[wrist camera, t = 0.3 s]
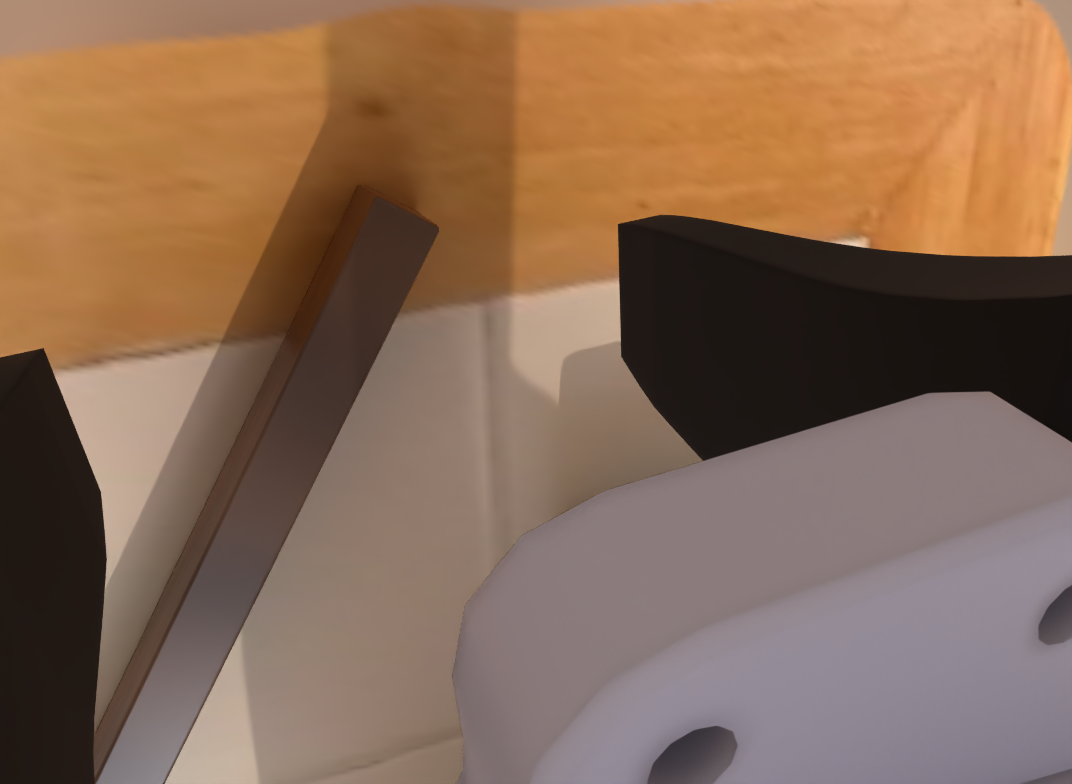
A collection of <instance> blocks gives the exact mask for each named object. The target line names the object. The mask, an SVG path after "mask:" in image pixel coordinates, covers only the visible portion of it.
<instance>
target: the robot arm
mask: <svg viewBox="0 0 1072 784" xmlns="http://www.w3.org/2000/svg"><path fill="white" fill-rule="evenodd" d="M618 242H619V282H620V321H621V357H622V358H623V360H624V362H625V363H626V365H627V366H628V368H629V370H630V371H631V373H632V374H633V376H634V378H635V379H636V381H637V382H638V384H639V386H640V387H641V388H642V390H643V391H644V393H645V394H646V396H647V397H648V399H649V400H650V402H651V403H652V404H653V406H654V407H655V408H656V409H657V411H658V412H659V413H660V414H661V415H662V416H663V417H664V419H665V420H666V421H667V422H668V423H669V424H670V425H671V426H672V427H673V428H674V430H675V431H676V432H677V433H678V434H679V435H680V436H681V437H682V438H683V439H684V441H685V442H686V443H687V444H688V445H689V446H690V447H691V448H692V449H693V450H694V451H695V452H696V453H697V454H698V456H699V457H700V458H701V459H702V460H703V461H702V462H698V463H695V464H692V465H688V466H685V467H682V468H678V469H675V470H672V471H669V472H665V473H662V474H659V475H655V476H652V477H649V478H645V479H642V480H639V481H635V482H632V483H629V484H625V485H622V486H619V487H615V488H612V489H609V490H606V491H603V492H601V493H600V494H598V495H596V496H594V497H592V498H590V499H588V500H587V501H585V502H583V503H581V504H579V505H577V506H575V507H574V508H572V509H570V510H568V511H566V512H564V513H562V514H561V515H559V516H557V517H555V518H553V519H551V520H550V521H548V522H546V523H544V524H542V525H540V526H538V527H537V528H535V529H533V530H531V531H529V532H527V533H525V534H524V535H522V536H521V537H520V538H519V539H518V540H517V542H516V543H515V544H514V545H513V547H512V548H511V549H510V550H509V552H508V553H507V554H506V555H505V556H504V558H503V559H502V560H501V561H500V563H499V564H498V565H497V566H496V568H495V569H494V570H493V571H492V573H491V574H490V575H489V576H488V577H487V579H486V580H485V581H484V582H483V584H482V585H481V586H480V587H479V589H478V590H477V591H476V592H475V593H474V595H473V596H472V597H471V598H470V600H469V601H468V602H467V603H466V605H465V606H464V612H463V618H462V623H461V629H460V634H459V640H458V646H457V651H456V657H455V663H454V668H453V674H452V678H453V684H454V690H455V696H456V701H457V707H458V713H459V719H460V725H461V731H462V737H463V770H462V772H461V775H460V777H459V779H458V781H457V782H456V783H455V784H1072V255H1070V256H1040V257H984V256H951V255H935V254H922V253H910V252H897V251H887V250H878V249H870V248H862V247H856V246H849V245H842V244H836V243H829V242H823V241H817V240H811V239H806V238H800V237H795V236H789V235H784V234H779V233H774V232H769V231H763V230H758V229H753V228H748V227H743V226H738V225H733V224H728V223H723V222H717V221H712V220H706V219H700V218H693V217H685V216H675V215H658V216H653V217H648V218H644V219H639V220H635V221H630V222H625V223H621V224H618ZM106 561H107V558H106V544H105V530H104V520H103V510H102V499H101V491H100V489H99V486H98V484H97V481H96V479H95V476H94V474H93V471H92V469H91V466H90V464H89V461H88V459H87V456H86V454H85V451H84V449H83V446H82V444H81V441H80V439H79V436H78V434H77V431H76V429H75V426H74V424H73V421H72V419H71V416H70V414H69V411H68V409H67V406H66V404H65V401H64V399H63V396H62V394H61V391H60V389H59V386H58V384H57V381H56V379H55V376H54V374H53V371H52V369H51V366H50V363H49V361H48V358H47V356H46V353H45V351H44V348H43V349H38V350H33V351H29V352H24V353H20V354H15V355H10V356H6V357H1V358H0V784H95V778H94V756H93V746H94V714H95V702H96V690H97V678H98V666H99V654H100V642H101V630H102V618H103V604H104V591H105V578H106Z"/></svg>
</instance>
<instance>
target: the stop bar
mask: <svg viewBox="0 0 1072 784" xmlns="http://www.w3.org/2000/svg"><path fill="white" fill-rule="evenodd" d="M438 232H439V227H438V226H437V225H436V224H434V223H433V222H431V221H430V220H428V219H427V218H425V217H424V216H422V215H421V214H419V213H418V212H416V211H414V210H412V209H410V208H408V207H406V206H404V205H403V204H401V203H399V202H397V201H395V200H393V199H391V198H389V197H387V196H385V195H383V194H381V193H379V192H377V191H375V190H373V189H371V188H369V187H367V186H365V185H362V184H360V185H359V186H358V187H357V189H356V191H355V193H354V195H353V197H352V199H351V201H350V204H349V206H348V208H347V210H346V212H345V214H344V216H343V218H342V220H341V222H340V224H339V227H338V229H337V231H336V233H335V235H334V237H333V239H332V241H331V243H330V245H329V247H328V249H327V252H326V254H325V256H324V258H323V260H322V262H321V264H320V266H319V268H318V270H317V272H316V275H315V277H314V279H313V281H312V283H311V285H310V287H309V289H308V291H307V293H306V295H305V298H304V300H303V302H302V304H301V306H300V308H299V310H298V312H297V314H296V316H295V318H294V320H293V323H292V325H291V327H290V329H289V331H288V333H287V335H286V337H285V339H284V341H283V343H282V346H281V348H280V350H279V352H278V354H277V356H276V358H275V360H274V362H273V364H272V366H271V369H270V371H269V373H268V375H267V377H266V379H265V381H264V383H263V385H262V387H261V389H260V391H259V394H258V396H257V398H256V400H255V402H254V404H253V406H252V408H251V410H250V412H249V414H248V417H247V419H246V421H245V423H244V425H243V427H242V429H241V431H240V433H239V435H238V437H237V440H236V442H235V444H234V446H233V448H232V450H231V452H230V454H229V456H228V458H227V460H226V462H225V465H224V467H223V469H222V471H221V473H220V475H219V477H218V479H217V481H216V483H215V485H214V488H213V490H212V492H211V494H210V496H209V498H208V500H207V502H206V504H205V506H204V508H203V510H202V513H201V515H200V517H199V519H198V521H197V523H196V525H195V527H194V529H193V531H192V533H191V536H190V538H189V540H188V542H187V544H186V546H185V548H184V550H183V552H182V554H181V556H180V559H179V561H178V563H177V565H176V567H175V569H174V571H173V573H172V575H171V577H170V579H169V581H168V584H167V586H166V588H165V590H164V592H163V594H162V596H161V598H160V600H159V602H158V604H157V607H156V609H155V611H154V613H153V615H152V617H151V619H150V621H149V623H148V625H147V627H146V630H145V632H144V634H143V636H142V638H141V640H140V642H139V644H138V646H137V648H136V650H135V652H134V655H133V657H132V659H131V661H130V663H129V665H128V667H127V669H126V671H125V673H124V675H123V678H122V680H121V682H120V684H119V686H118V688H117V690H116V692H115V694H114V696H113V698H112V701H111V703H110V705H109V707H108V709H107V711H106V713H105V715H104V717H103V719H102V721H101V723H100V726H99V728H98V730H97V732H96V734H95V736H94V746H93V756H94V778H95V784H165V782H166V780H167V778H168V776H169V774H170V772H171V770H172V768H173V766H174V764H175V762H176V760H177V758H178V756H179V754H180V752H181V750H182V748H183V746H184V744H185V742H186V740H187V738H188V736H189V734H190V732H191V730H192V728H193V726H194V724H195V721H196V719H197V717H198V715H199V713H200V711H201V709H202V707H203V705H204V703H205V701H206V699H207V697H208V695H209V693H210V691H211V689H212V687H213V685H214V683H215V681H216V679H217V677H218V675H219V673H220V671H221V669H222V667H223V665H224V663H225V661H226V659H227V657H228V655H229V653H230V651H231V649H232V647H233V645H234V643H235V641H236V639H237V637H238V635H239V633H240V631H241V629H242V627H243V625H244V623H245V621H246V619H247V617H248V615H249V613H250V611H251V609H252V607H253V605H254V603H255V601H256V599H257V597H258V595H259V593H260V591H261V589H262V587H263V585H264V583H265V581H266V579H267V577H268V575H269V573H270V571H271V569H272V567H273V565H274V562H275V560H276V558H277V556H278V554H279V552H280V550H281V548H282V546H283V544H284V542H285V540H286V538H287V536H288V534H289V532H290V530H291V528H292V526H293V524H294V522H295V520H296V518H297V516H298V514H299V512H300V510H301V508H302V506H303V504H304V502H305V500H306V498H307V496H308V494H309V492H310V490H311V488H312V486H313V484H314V482H315V480H316V478H317V476H318V474H319V472H320V470H321V468H322V466H323V464H324V462H325V460H326V458H327V456H328V454H329V452H330V450H331V448H332V446H333V444H334V442H335V440H336V438H337V436H338V434H339V432H340V430H341V428H342V426H343V424H344V422H345V420H346V418H347V416H348V414H349V412H350V410H351V408H352V406H353V404H354V401H355V399H356V397H357V395H358V393H359V391H360V389H361V387H362V385H363V383H364V381H365V379H366V377H367V375H368V373H369V371H370V369H371V367H372V365H373V363H374V361H375V359H376V357H377V355H378V353H379V351H380V349H381V347H382V345H383V343H384V341H385V339H386V337H387V335H388V333H389V331H390V329H391V327H392V325H393V323H394V321H395V319H396V317H397V315H398V313H399V311H400V309H401V307H402V305H403V303H404V301H405V299H406V297H407V295H408V293H409V291H410V289H411V287H412V285H413V283H414V281H415V279H416V277H417V275H418V273H419V271H420V269H421V267H422V265H423V263H424V261H425V259H426V257H427V255H428V253H429V251H430V249H431V247H432V245H433V242H434V240H435V238H436V236H437V234H438Z"/></svg>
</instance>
